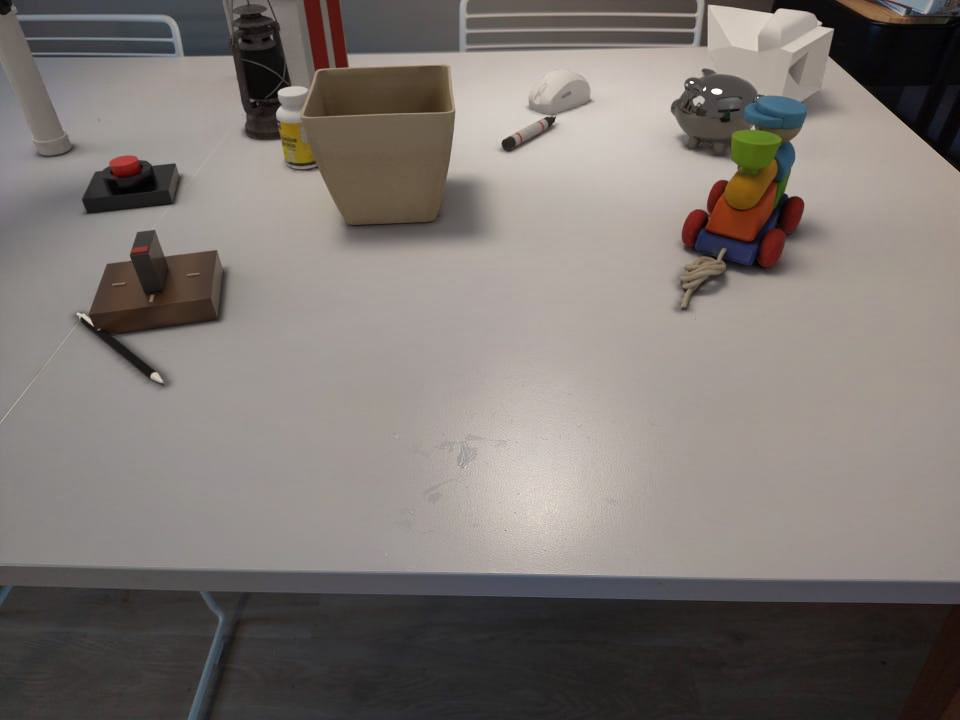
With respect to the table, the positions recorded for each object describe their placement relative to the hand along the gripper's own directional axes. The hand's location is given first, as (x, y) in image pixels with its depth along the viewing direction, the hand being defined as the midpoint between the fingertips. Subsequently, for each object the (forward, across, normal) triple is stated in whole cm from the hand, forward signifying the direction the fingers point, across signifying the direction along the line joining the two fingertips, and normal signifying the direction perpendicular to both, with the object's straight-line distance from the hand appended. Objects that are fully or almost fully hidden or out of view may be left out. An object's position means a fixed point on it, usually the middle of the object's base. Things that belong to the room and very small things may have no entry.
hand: (2, 12), depth 92 cm
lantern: (+25, -31, -16) cm, 43 cm away
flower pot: (+25, -48, +19) cm, 58 cm away
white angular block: (+24, -122, -9) cm, 125 cm away
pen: (+25, -14, +46) cm, 54 cm away
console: (+25, -18, +38) cm, 49 cm away
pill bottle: (+25, -36, 0) cm, 44 cm away
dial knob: (+22, -18, +38) cm, 47 cm away
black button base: (+25, -10, +6) cm, 27 cm away
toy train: (+25, -89, +43) cm, 102 cm away
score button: (+21, -10, +6) cm, 24 cm away
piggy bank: (+24, -103, +11) cm, 107 cm away
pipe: (+25, +6, -16) cm, 30 cm away
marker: (+25, -75, -1) cm, 79 cm away
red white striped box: (+25, -36, -38) cm, 57 cm away
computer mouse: (+24, -85, -15) cm, 90 cm away
